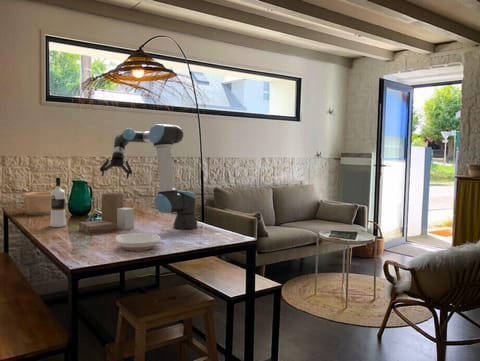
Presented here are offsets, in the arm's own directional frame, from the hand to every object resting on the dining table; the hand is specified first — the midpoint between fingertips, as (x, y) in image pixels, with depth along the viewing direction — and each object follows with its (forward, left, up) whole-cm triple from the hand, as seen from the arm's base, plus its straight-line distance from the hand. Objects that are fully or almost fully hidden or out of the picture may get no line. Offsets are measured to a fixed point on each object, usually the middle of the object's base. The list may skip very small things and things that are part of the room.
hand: (114, 180), depth 268 cm
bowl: (-68, +20, -28) cm, 76 cm away
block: (-5, +4, -28) cm, 28 cm away
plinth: (-18, +19, -28) cm, 38 cm away
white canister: (-19, +2, -28) cm, 34 cm away
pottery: (+62, +27, -28) cm, 73 cm away
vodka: (+8, +33, -28) cm, 44 cm away
